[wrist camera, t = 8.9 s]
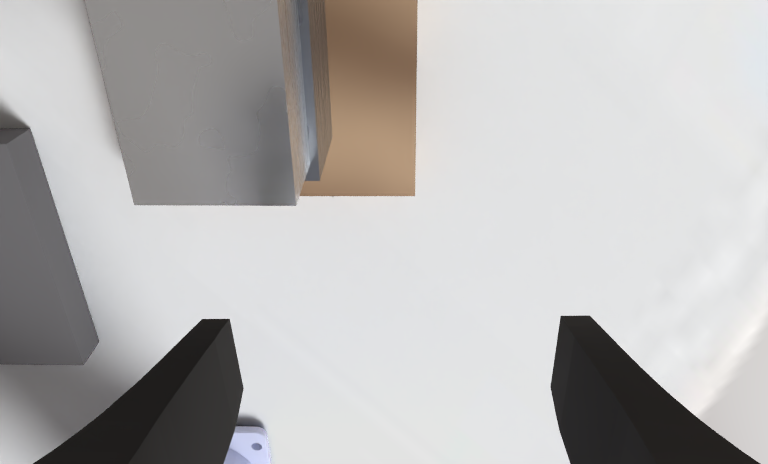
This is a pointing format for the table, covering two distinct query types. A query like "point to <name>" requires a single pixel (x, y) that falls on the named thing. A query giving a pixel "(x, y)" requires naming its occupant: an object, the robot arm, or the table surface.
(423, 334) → the table surface
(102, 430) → the robot arm
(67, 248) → the stand
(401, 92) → the stand
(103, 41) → the housing
